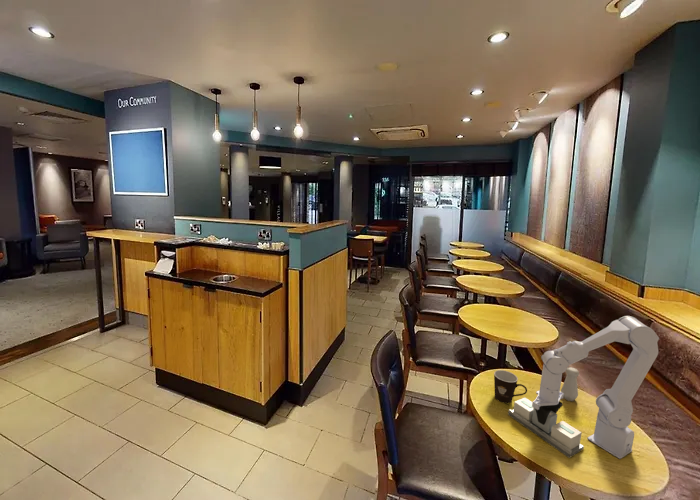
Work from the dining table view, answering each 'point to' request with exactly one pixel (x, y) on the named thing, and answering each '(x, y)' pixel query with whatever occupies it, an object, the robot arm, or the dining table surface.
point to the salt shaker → (570, 384)
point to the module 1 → (524, 408)
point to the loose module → (549, 422)
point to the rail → (545, 435)
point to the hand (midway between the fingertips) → (545, 420)
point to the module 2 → (566, 435)
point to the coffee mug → (506, 386)
